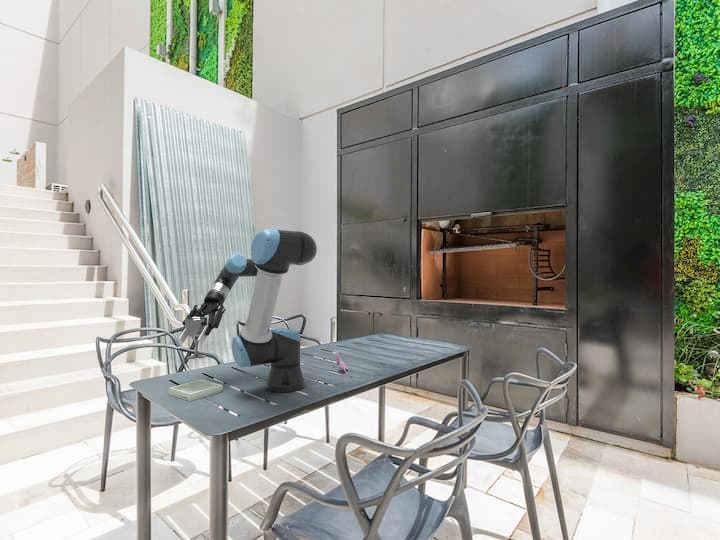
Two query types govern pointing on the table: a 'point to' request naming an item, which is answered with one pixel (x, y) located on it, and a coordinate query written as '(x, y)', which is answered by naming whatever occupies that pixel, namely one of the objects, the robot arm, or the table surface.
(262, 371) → the table surface
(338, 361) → the lily
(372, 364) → the table surface
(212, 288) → the robot arm
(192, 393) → the white tray
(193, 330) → the wine glass
